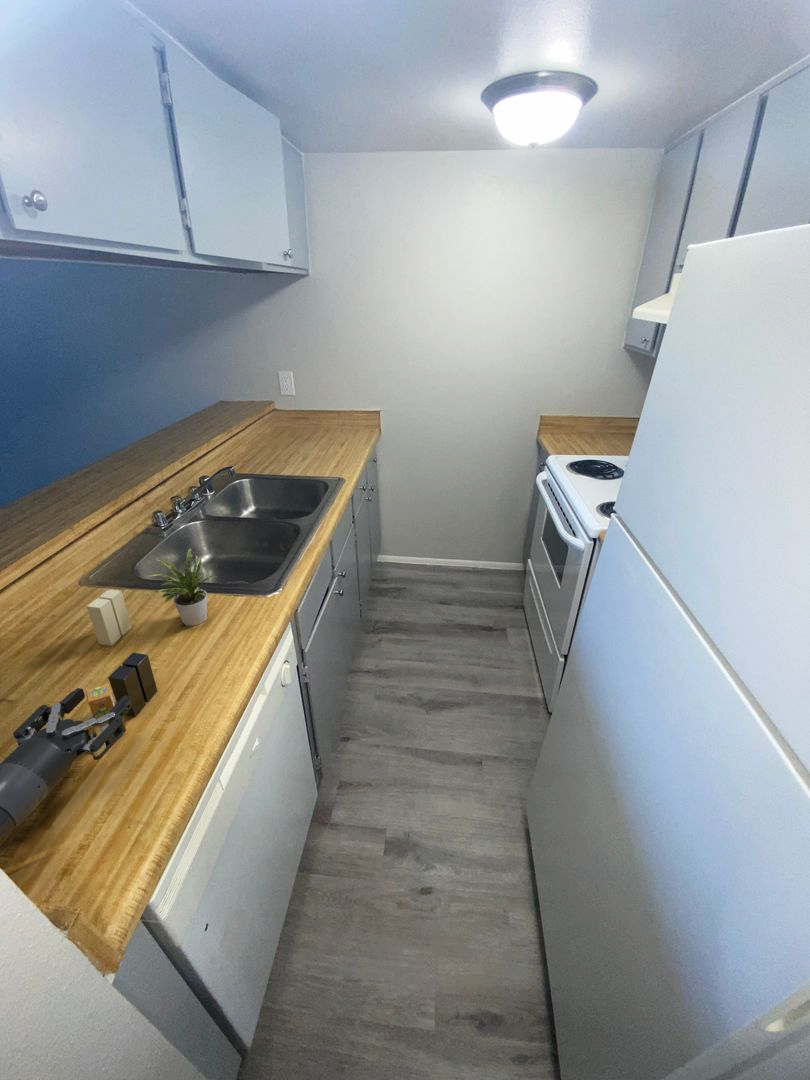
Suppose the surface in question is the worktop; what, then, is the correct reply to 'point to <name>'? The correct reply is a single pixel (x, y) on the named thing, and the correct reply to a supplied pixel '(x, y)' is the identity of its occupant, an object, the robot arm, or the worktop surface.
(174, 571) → the house plant
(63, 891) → the worktop surface
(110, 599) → the cream boxes
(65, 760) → the robot arm
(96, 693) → the supplement box
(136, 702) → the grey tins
